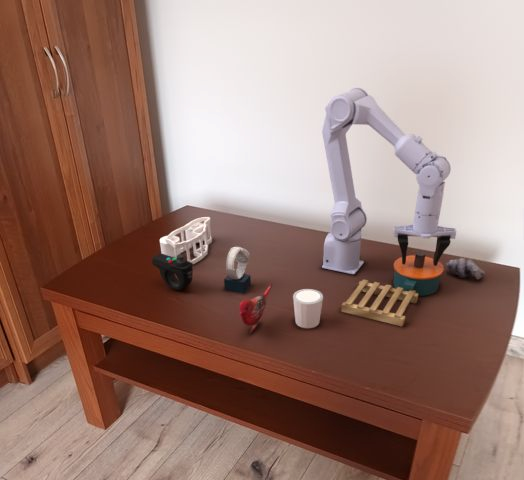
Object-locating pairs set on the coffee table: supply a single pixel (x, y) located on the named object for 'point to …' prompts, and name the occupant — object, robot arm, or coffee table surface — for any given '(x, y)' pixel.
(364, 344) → the coffee table surface
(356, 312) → the rack
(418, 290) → the pot
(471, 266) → the seashell
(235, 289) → the watch
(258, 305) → the decorative bird figurine
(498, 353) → the coffee table surface
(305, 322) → the white cup
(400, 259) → the lid
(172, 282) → the controller
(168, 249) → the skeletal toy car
